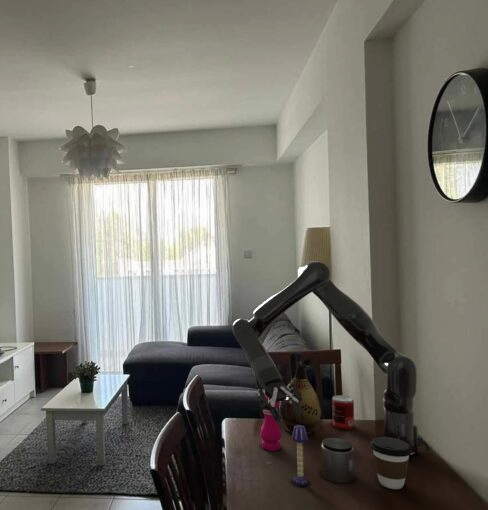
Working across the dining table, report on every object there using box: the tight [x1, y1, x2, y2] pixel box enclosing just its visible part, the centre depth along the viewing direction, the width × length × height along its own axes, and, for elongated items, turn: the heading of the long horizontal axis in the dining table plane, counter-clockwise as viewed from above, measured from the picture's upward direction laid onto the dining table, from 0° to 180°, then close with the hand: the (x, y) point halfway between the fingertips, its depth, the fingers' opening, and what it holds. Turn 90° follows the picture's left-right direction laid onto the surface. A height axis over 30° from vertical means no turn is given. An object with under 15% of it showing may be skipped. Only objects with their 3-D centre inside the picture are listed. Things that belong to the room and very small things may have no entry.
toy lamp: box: [291, 425, 309, 487], centre depth 138 cm, size 5×5×17 cm
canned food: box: [332, 394, 355, 430], centre depth 182 cm, size 8×8×11 cm
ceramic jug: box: [278, 350, 322, 435], centre depth 179 cm, size 17×15×30 cm
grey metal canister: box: [321, 437, 355, 484], centre depth 142 cm, size 9×9×10 cm
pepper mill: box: [259, 395, 282, 451], centre depth 164 cm, size 7×7×20 cm
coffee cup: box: [369, 436, 412, 490], centre depth 136 cm, size 11×11×12 cm
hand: (290, 417), depth 142 cm, fingers open, 8 cm apart
